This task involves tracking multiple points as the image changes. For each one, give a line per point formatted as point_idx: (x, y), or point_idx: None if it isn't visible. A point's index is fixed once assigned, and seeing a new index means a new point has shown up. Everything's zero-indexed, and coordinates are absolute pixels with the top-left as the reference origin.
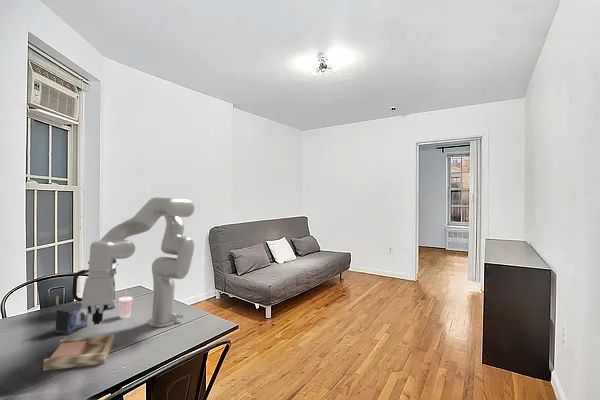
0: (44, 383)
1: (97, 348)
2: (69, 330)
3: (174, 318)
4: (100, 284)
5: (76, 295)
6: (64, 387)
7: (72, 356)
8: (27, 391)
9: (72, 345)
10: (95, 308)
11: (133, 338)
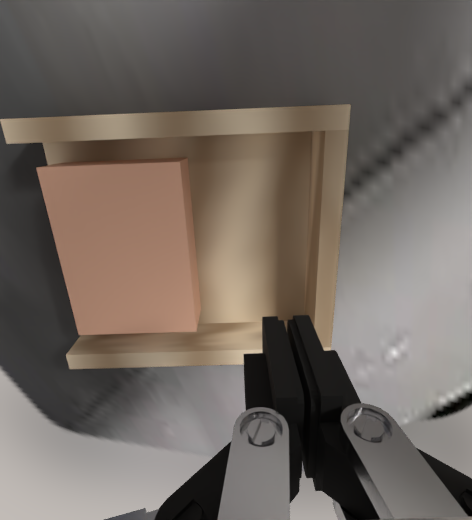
0: (140, 399)
1: (251, 167)
2: None
3: None
4: None
5: None
6: (217, 430)
7: (183, 357)
8: (113, 428)
9: (120, 214)
10: (270, 473)
11: (450, 11)
